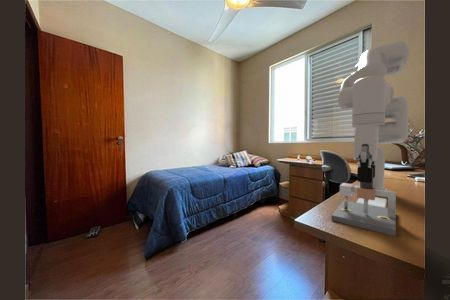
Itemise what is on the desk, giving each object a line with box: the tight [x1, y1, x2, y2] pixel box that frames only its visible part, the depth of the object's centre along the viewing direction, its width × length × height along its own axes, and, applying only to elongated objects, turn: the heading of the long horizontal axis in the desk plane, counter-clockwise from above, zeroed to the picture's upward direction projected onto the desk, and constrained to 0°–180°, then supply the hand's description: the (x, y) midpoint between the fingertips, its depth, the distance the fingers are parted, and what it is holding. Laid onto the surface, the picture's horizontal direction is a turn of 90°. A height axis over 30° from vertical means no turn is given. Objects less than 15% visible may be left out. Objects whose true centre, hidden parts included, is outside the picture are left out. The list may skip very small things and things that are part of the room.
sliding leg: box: [356, 168, 376, 214], centre depth 54 cm, size 3×4×14 cm
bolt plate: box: [330, 200, 397, 237], centre depth 56 cm, size 18×14×2 cm
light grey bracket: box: [339, 182, 397, 219], centre depth 55 cm, size 5×13×8 cm, turn 47°
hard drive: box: [356, 196, 388, 208], centre depth 68 cm, size 2×8×12 cm
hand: (366, 179), depth 54 cm, fingers open, 9 cm apart
